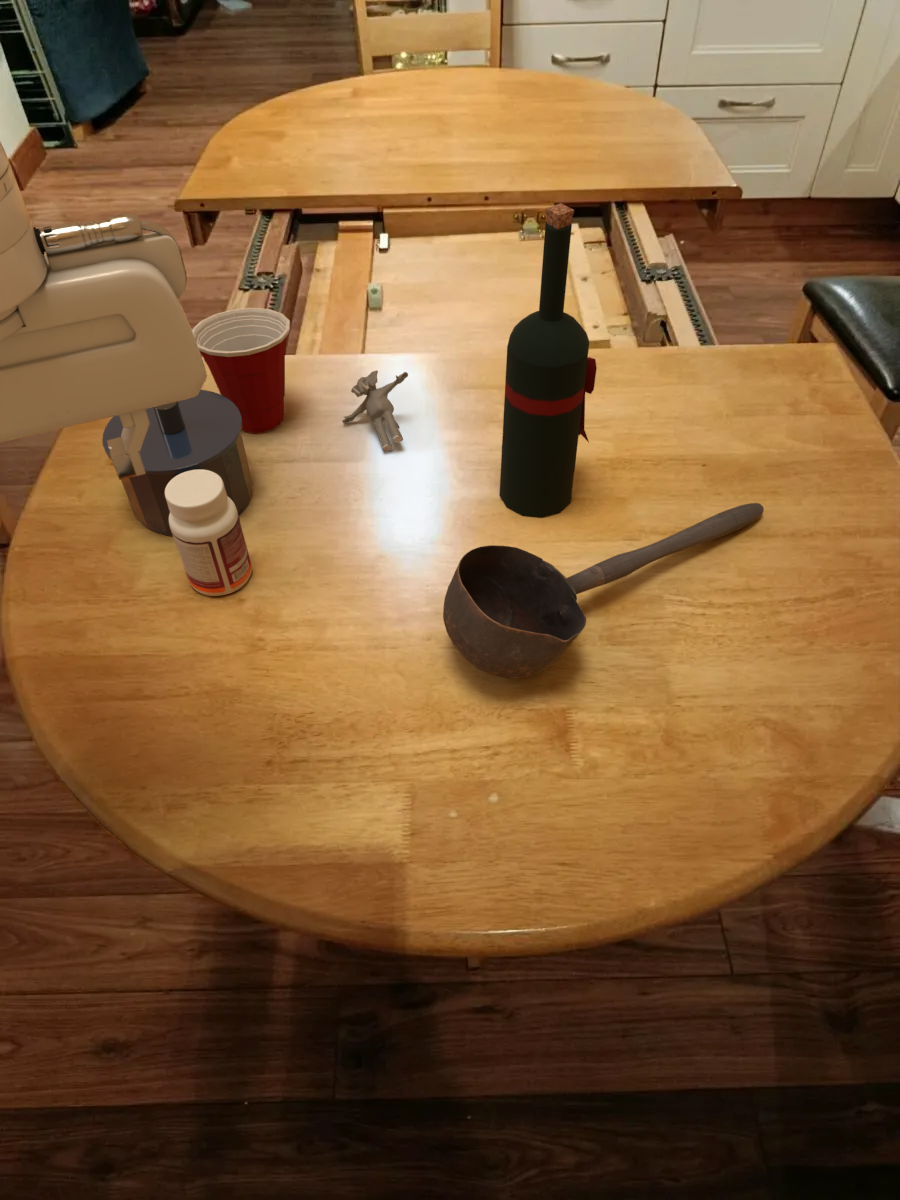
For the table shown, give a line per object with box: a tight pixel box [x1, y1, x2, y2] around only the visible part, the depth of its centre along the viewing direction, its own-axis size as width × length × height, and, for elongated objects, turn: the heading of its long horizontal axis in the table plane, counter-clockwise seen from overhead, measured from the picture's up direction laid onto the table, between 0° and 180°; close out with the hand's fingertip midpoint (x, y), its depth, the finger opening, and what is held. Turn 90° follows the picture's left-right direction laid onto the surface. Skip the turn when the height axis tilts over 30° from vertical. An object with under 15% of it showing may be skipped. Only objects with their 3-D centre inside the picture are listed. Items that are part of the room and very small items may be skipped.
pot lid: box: [101, 389, 243, 475], centre depth 84 cm, size 14×14×4 cm
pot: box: [120, 432, 254, 537], centre depth 88 cm, size 13×18×8 cm
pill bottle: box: [165, 469, 253, 597], centre depth 79 cm, size 6×6×11 cm
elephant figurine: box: [341, 370, 409, 452], centre depth 97 cm, size 10×6×9 cm
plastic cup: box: [191, 307, 291, 434], centre depth 96 cm, size 11×11×12 cm
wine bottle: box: [498, 203, 598, 519], centre depth 80 cm, size 8×10×30 cm
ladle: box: [442, 502, 765, 679], centre depth 80 cm, size 12×38×10 cm, turn 124°
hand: (45, 493), depth 47 cm, fingers open, 8 cm apart
